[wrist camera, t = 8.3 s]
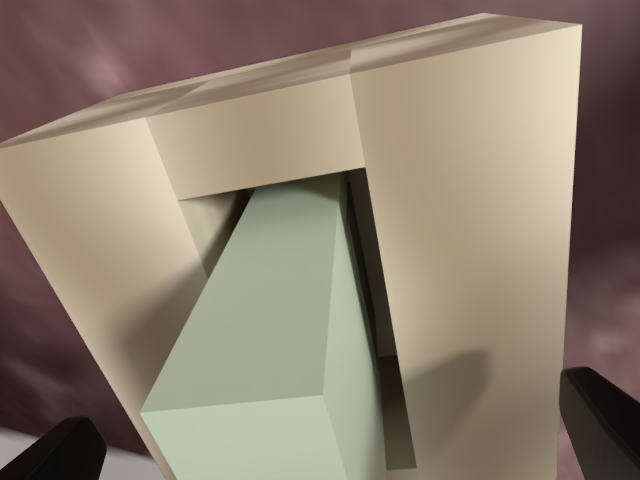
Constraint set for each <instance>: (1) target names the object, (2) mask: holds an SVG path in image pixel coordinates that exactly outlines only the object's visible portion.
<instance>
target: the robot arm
mask: <svg viewBox="0 0 640 480" xmlns="http://www.w3.org/2000/svg"><path fill="white" fill-rule="evenodd" d="M559 408H560V412H561V416H562V419H563V421H564V424H565V427H566V430H567V432H568V435H569V438H570V440H571V443H572V446H573V449H574V451H575V454H576V457H577V459H578V462H579V465H580V467H581V470H582V473H583V476H584V478H585V480H640V402H638V401H637V400H635V399H634V398H632V397H631V396H630V395H628V394H627V393H625V392H624V391H623V390H621V389H620V388H618V387H617V386H615V385H614V384H613V383H611V382H610V381H608V380H607V379H606V378H604V377H603V376H601V375H600V374H598V373H597V372H596V371H594V370H593V369H591V368H589V367H573V368H565V369H563V370H562V371H561V374H560V388H559ZM106 451H107V445H106V441H105V439H104V438H103V436H102V435H101V433H100V431H99V430H98V428H97V427H96V425H95V424H94V422H93V421H92V419H91V418H90V417H88V416H74V417H68V418H66V419H64V420H63V421H61V422H60V423H59V424H58V425H56V426H55V427H54V428H52V429H51V430H50V431H49V432H47V433H46V434H45V435H44V436H42V437H41V438H40V439H39V440H37V441H36V442H35V443H34V444H32V445H31V446H30V447H29V448H27V449H26V450H25V451H23V452H22V453H21V454H20V455H18V456H17V457H16V458H15V459H13V460H12V461H11V462H10V463H8V464H7V465H6V466H5V467H3V468H2V469H1V470H0V480H99V476H100V473H101V469H102V466H103V463H104V459H105V456H106Z"/></svg>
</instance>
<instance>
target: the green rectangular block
mask: <svg viewBox="0 0 640 480" xmlns="http://www.w3.org/2000/svg"><path fill="white" fill-rule="evenodd" d="M140 415H141V417H142V418H143V420H144V422H145V424H146V425H147V427H148V429H149V431H150V432H151V434H152V436H153V438H154V439H155V441H156V443H157V445H158V446H159V448H160V450H161V452H162V453H163V455H164V457H165V459H166V460H167V462H168V464H169V466H170V467H171V469H172V471H173V473H174V474H175V476H176V478H177V480H387V473H386V458H385V443H384V428H383V414H382V399H381V384H380V369H379V354H378V339H377V329H376V323H375V312H374V307H373V302H372V297H371V291H370V286H369V281H368V276H367V270H366V265H365V260H364V255H363V249H362V244H361V239H360V234H359V229H358V223H357V218H356V213H355V208H354V202H353V197H352V192H351V187H350V183H348V178H347V173H346V171H340V172H335V173H329V174H324V175H318V176H312V177H307V178H301V179H296V180H290V181H284V182H279V183H273V184H267V185H262V186H257V187H256V189H255V191H254V193H253V195H252V197H251V199H250V201H249V203H248V205H247V207H246V208H245V210H244V212H243V214H242V216H241V218H240V220H239V222H238V224H237V226H236V228H235V230H234V232H233V233H232V235H231V237H230V239H229V241H228V243H227V245H226V247H225V249H224V251H223V253H222V255H221V257H220V258H219V260H218V262H217V264H216V266H215V268H214V270H213V272H212V274H211V276H210V278H209V280H208V282H207V284H206V285H205V287H204V289H203V291H202V293H201V295H200V297H199V299H198V301H197V303H196V305H195V307H194V309H193V310H192V312H191V314H190V316H189V318H188V320H187V322H186V324H185V326H184V328H183V330H182V332H181V334H180V336H179V337H178V339H177V341H176V343H175V345H174V347H173V349H172V351H171V353H170V355H169V357H168V359H167V361H166V362H165V364H164V366H163V368H162V370H161V372H160V374H159V376H158V378H157V380H156V382H155V384H154V386H153V387H152V389H151V391H150V393H149V395H148V397H147V399H146V401H145V403H144V405H143V407H142V409H141V411H140Z"/></svg>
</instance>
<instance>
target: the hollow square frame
mask: <svg viewBox="0 0 640 480" xmlns="http://www.w3.org/2000/svg"><path fill="white" fill-rule="evenodd" d="M581 37H582V24H574V23H565V22H556V21H548V20H539V19H530V18H521V17H513V16H504V15H495V14H487V13H481V14H476V15H472V16H467V17H463V18H458V19H454V20H449V21H445V22H440V23H436V24H432V25H427V26H423V27H418V28H414V29H409V30H405V31H400V32H396V33H391V34H387V35H382V36H378V37H374V38H369V39H365V40H360V41H356V42H351V43H347V44H342V45H338V46H333V47H329V48H325V49H320V50H316V51H311V52H307V53H302V54H298V55H293V56H289V57H284V58H280V59H275V60H271V61H267V62H262V63H258V64H253V65H249V66H244V67H240V68H235V69H231V70H226V71H222V72H218V73H213V74H209V75H204V76H200V77H195V78H191V79H186V80H182V81H177V82H173V83H168V84H164V85H160V86H155V87H151V88H146V89H142V90H137V91H133V92H128V93H124V94H119V95H117V96H114V97H112V98H110V99H107V100H105V101H102V102H100V103H97V104H95V105H92V106H90V107H88V108H85V109H83V110H80V111H78V112H75V113H73V114H70V115H68V116H66V117H63V118H61V119H58V120H56V121H53V122H51V123H48V124H46V125H44V126H41V127H39V128H36V129H34V130H31V131H29V132H26V133H24V134H22V135H19V136H17V137H14V138H12V139H9V140H7V141H4V142H2V143H0V200H1V202H2V203H3V205H4V207H5V208H6V210H7V212H8V213H9V215H10V217H11V218H12V220H13V222H14V223H15V225H16V227H17V229H18V230H19V232H20V234H21V235H22V237H23V239H24V240H25V242H26V244H27V245H28V247H29V249H30V250H31V252H32V254H33V256H34V257H35V259H36V261H37V262H38V264H39V266H40V267H41V269H42V271H43V272H44V274H45V276H46V277H47V279H48V281H49V283H50V284H51V286H52V288H53V289H54V291H55V293H56V294H57V296H58V298H59V299H60V301H61V303H62V304H63V306H64V308H65V310H66V311H67V313H68V315H69V316H70V318H71V320H72V321H73V323H74V325H75V326H76V328H77V330H78V331H79V333H80V335H81V337H82V338H83V340H84V342H85V343H86V345H87V347H88V348H89V350H90V352H91V353H92V355H93V357H94V358H95V360H96V362H97V364H98V365H99V367H100V369H101V370H102V372H103V374H104V375H105V377H106V379H107V380H108V382H109V384H110V385H111V387H112V389H113V391H114V392H115V394H116V396H117V397H118V399H119V401H120V402H121V404H122V406H123V407H124V409H125V411H126V412H127V414H128V416H129V418H130V419H131V421H132V423H133V424H134V426H135V428H136V429H137V431H138V433H139V434H140V436H141V438H142V439H143V441H144V443H145V445H146V446H147V448H148V450H149V451H150V453H151V455H152V456H153V458H154V460H155V461H156V463H157V465H158V466H159V468H160V470H161V472H162V473H163V475H164V476H165V478H166V480H177V478H176V476H175V474H174V473H173V471H172V469H171V467H170V466H169V464H168V462H167V460H166V459H165V457H164V455H163V453H162V452H161V450H160V448H159V446H158V445H157V443H156V441H155V439H154V438H153V436H152V434H151V432H150V431H149V429H148V427H147V425H146V424H145V422H144V420H143V418H142V417H141V415H140V411H141V409H142V407H143V405H144V403H145V401H146V399H147V397H148V395H149V393H150V391H151V389H152V387H153V386H154V384H155V382H156V380H157V378H158V376H159V374H160V372H161V370H162V368H163V366H164V364H165V362H166V361H167V359H168V357H169V355H170V353H171V351H172V349H173V347H174V345H175V343H176V341H177V339H178V337H179V336H180V334H181V332H182V330H183V328H184V326H185V324H186V322H187V320H188V318H189V316H190V314H191V312H192V310H193V309H194V307H195V305H196V303H197V301H198V299H199V297H200V295H201V293H202V291H203V289H204V287H205V285H206V284H207V282H208V280H209V278H210V276H211V274H212V272H213V270H214V268H215V266H216V264H217V262H218V260H219V258H220V257H221V255H222V253H223V251H224V249H225V247H226V245H227V243H228V241H229V239H230V237H231V235H232V233H233V232H234V230H235V228H236V226H237V224H238V222H239V220H240V218H241V216H242V214H243V212H244V210H245V208H246V207H247V205H248V203H249V201H250V199H251V197H252V195H253V193H254V191H255V189H256V187H257V186H262V185H267V184H273V183H279V182H284V181H290V180H296V179H301V178H307V177H312V176H318V175H324V174H329V173H335V172H340V171H346V173H347V178H348V183H350V187H351V192H352V197H353V202H354V208H355V213H356V218H357V223H358V229H359V234H360V239H361V244H362V249H363V255H364V260H365V265H366V270H367V276H368V281H369V286H370V291H371V297H372V302H373V307H374V312H375V323H376V329H377V339H378V354H379V369H380V384H381V399H382V414H383V428H384V443H385V458H386V473H387V480H556V471H557V453H558V436H559V419H560V408H559V388H560V374H561V371H562V367H563V349H564V332H565V315H566V297H567V280H568V263H569V245H570V228H571V211H572V193H573V176H574V159H575V141H576V124H577V107H578V89H579V72H580V55H581Z"/></svg>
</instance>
